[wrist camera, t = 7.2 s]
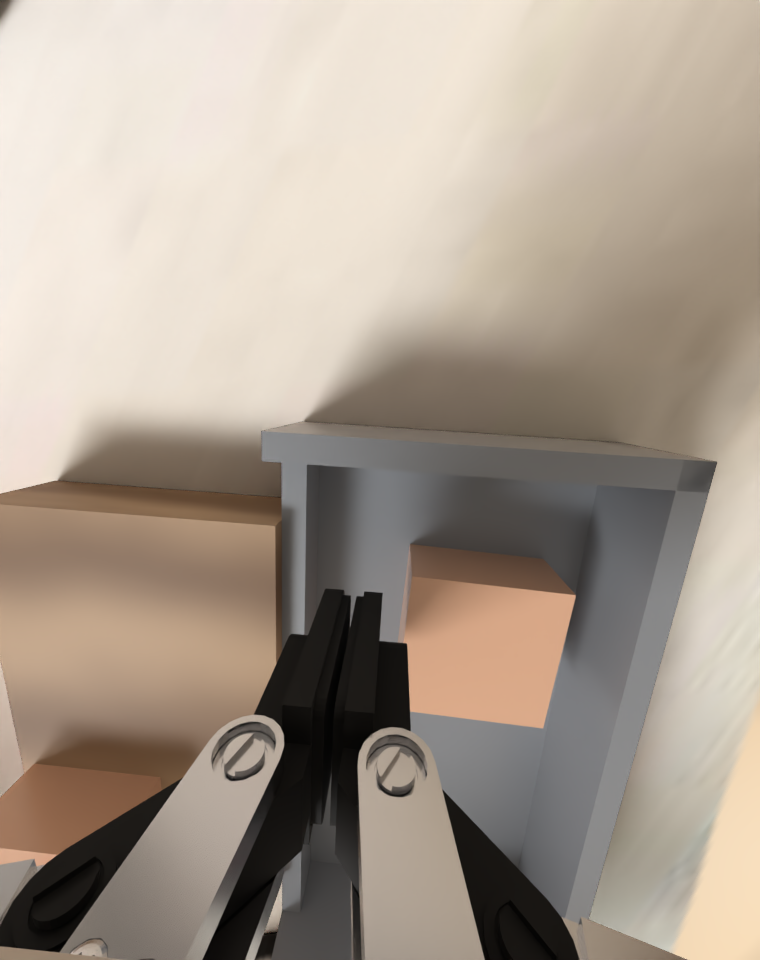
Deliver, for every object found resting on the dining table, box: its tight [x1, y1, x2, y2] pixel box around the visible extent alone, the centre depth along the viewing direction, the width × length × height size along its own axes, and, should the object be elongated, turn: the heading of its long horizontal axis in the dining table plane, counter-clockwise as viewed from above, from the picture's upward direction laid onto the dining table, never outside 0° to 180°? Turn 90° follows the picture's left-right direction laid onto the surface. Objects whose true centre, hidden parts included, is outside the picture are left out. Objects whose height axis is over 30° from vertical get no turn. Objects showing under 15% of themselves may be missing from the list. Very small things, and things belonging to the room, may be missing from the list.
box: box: [261, 422, 717, 960], centre depth 13 cm, size 22×12×4 cm, turn 176°
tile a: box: [398, 544, 576, 728], centre depth 13 cm, size 5×5×2 cm
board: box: [0, 481, 282, 790], centre depth 14 cm, size 16×10×3 cm, turn 176°
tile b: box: [0, 764, 162, 866], centre depth 13 cm, size 5×5×2 cm
